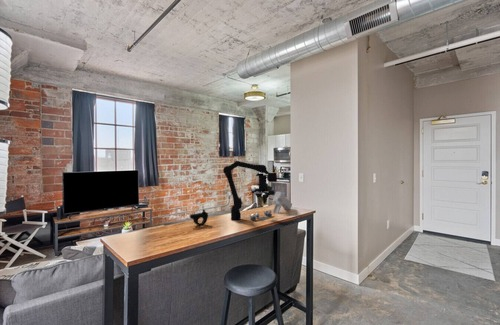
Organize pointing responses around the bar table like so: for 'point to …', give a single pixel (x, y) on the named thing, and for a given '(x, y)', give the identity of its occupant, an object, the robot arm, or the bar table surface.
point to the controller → (199, 215)
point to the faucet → (281, 202)
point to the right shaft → (268, 213)
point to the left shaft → (254, 216)
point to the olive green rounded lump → (261, 202)
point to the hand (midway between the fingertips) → (262, 203)
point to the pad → (263, 218)
